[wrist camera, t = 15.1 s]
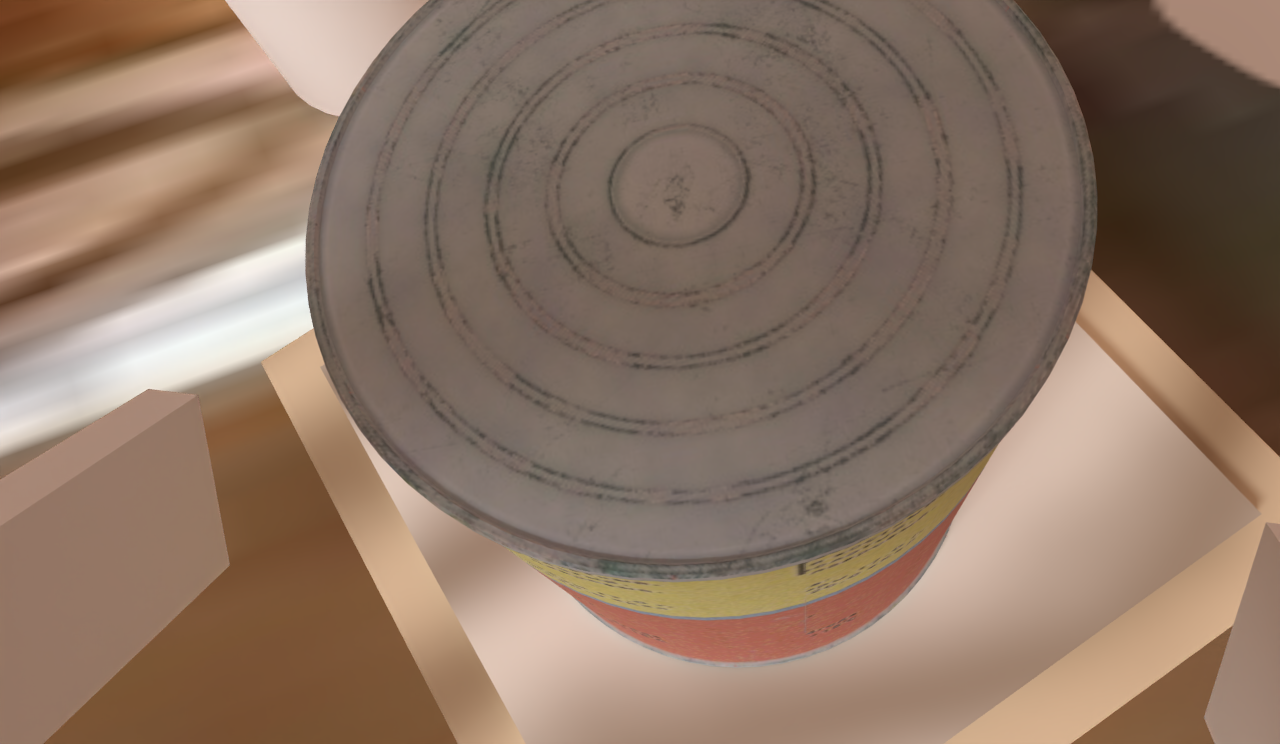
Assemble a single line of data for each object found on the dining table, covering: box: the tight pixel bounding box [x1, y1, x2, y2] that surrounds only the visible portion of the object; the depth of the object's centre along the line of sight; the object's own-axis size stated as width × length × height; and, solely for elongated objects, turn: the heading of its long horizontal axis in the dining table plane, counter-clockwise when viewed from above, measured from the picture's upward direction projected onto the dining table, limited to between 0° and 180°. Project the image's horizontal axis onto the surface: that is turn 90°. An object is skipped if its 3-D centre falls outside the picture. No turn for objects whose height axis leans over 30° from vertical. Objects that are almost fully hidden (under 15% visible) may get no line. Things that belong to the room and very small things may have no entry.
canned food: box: [306, 0, 1097, 668], centre depth 20 cm, size 11×11×12 cm
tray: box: [261, 270, 1280, 744], centre depth 28 cm, size 20×20×5 cm
